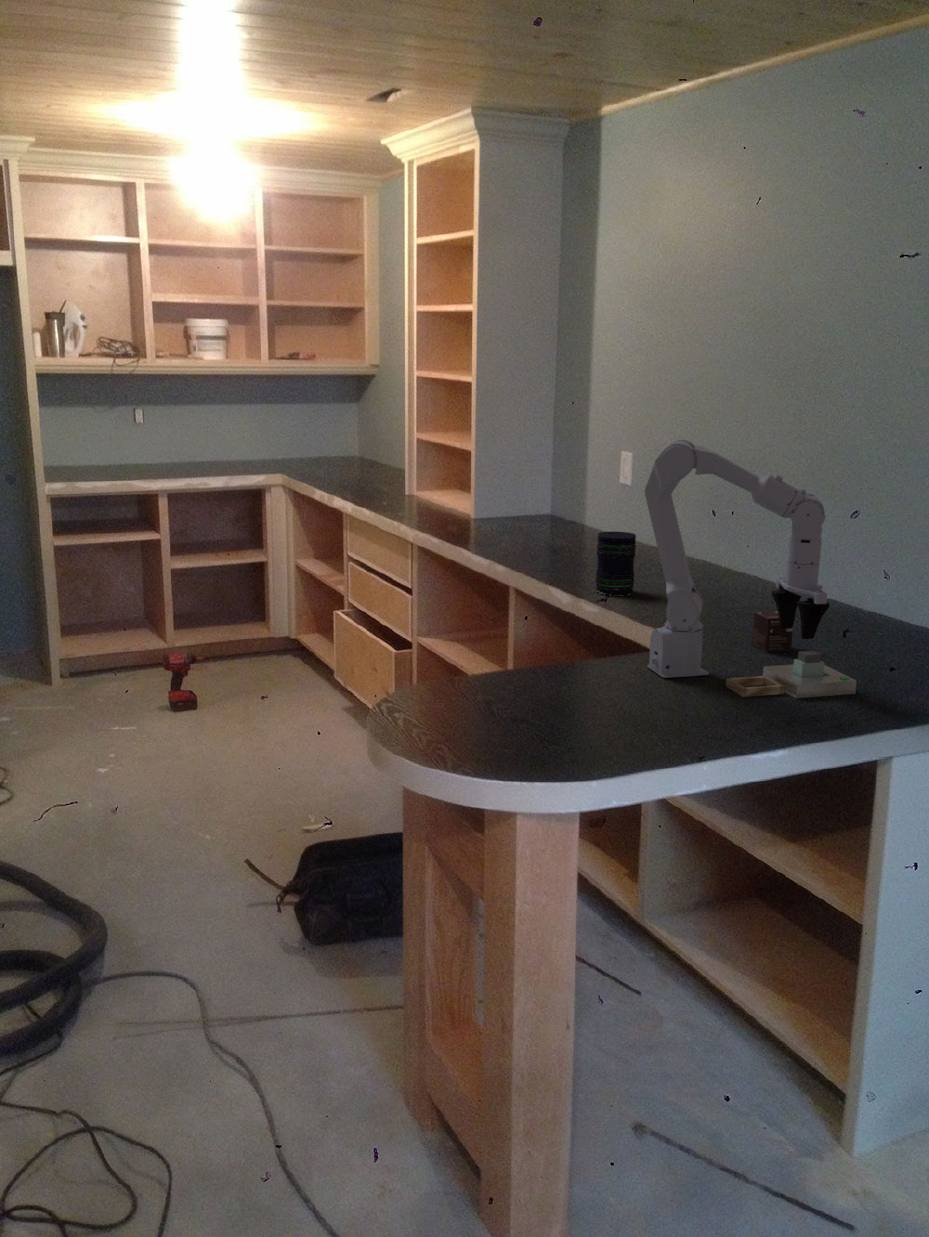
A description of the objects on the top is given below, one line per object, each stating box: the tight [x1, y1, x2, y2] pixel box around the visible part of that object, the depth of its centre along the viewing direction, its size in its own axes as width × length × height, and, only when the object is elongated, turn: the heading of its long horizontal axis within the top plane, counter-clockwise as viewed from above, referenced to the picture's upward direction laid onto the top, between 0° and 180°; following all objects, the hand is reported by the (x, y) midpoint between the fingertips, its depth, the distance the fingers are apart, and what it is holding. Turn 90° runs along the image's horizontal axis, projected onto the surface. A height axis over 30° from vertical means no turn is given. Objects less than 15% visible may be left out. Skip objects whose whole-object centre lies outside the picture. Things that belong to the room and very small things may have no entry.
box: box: [751, 610, 794, 653], centre depth 231 cm, size 6×6×7 cm
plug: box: [792, 650, 826, 678], centre depth 204 cm, size 4×3×6 cm, turn 104°
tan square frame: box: [725, 675, 785, 698], centre depth 202 cm, size 8×7×2 cm
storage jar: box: [595, 531, 637, 595], centre depth 281 cm, size 10×10×15 cm
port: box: [762, 663, 857, 699], centre depth 205 cm, size 12×12×3 cm
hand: (796, 633), depth 206 cm, fingers open, 7 cm apart
